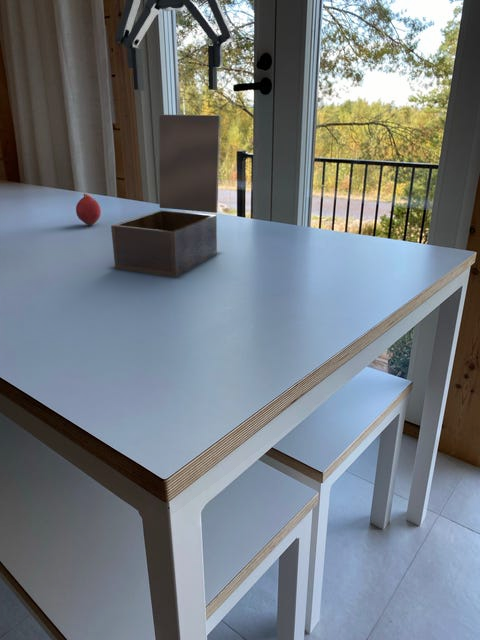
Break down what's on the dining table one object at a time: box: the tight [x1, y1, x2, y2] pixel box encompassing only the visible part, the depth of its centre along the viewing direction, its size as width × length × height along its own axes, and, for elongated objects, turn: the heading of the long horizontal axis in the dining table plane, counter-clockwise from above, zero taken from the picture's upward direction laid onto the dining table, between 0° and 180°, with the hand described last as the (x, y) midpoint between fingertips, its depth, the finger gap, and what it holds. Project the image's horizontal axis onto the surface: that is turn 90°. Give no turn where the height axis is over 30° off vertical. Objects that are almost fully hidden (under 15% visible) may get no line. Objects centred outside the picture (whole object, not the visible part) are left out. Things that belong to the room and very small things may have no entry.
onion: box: [75, 192, 102, 227], centre depth 117 cm, size 6×6×8 cm
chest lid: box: [158, 114, 221, 214], centre depth 92 cm, size 18×13×1 cm
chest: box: [110, 209, 218, 278], centre depth 89 cm, size 17×13×8 cm
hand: (175, 90), depth 83 cm, fingers open, 13 cm apart
